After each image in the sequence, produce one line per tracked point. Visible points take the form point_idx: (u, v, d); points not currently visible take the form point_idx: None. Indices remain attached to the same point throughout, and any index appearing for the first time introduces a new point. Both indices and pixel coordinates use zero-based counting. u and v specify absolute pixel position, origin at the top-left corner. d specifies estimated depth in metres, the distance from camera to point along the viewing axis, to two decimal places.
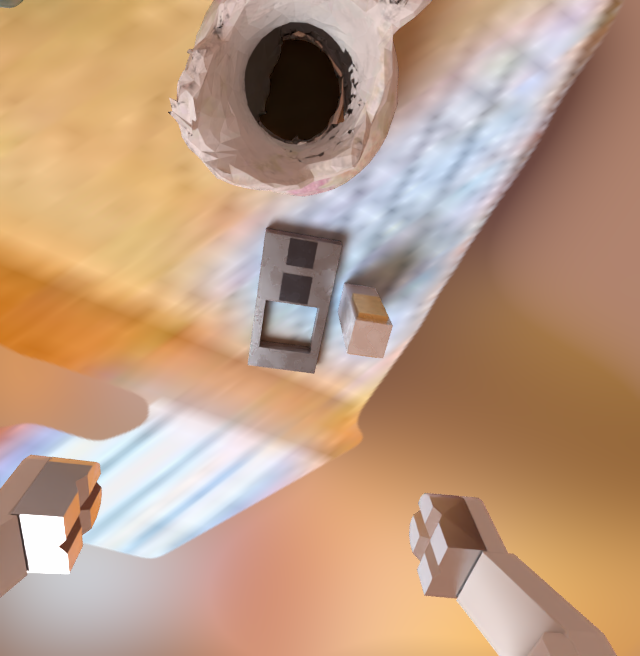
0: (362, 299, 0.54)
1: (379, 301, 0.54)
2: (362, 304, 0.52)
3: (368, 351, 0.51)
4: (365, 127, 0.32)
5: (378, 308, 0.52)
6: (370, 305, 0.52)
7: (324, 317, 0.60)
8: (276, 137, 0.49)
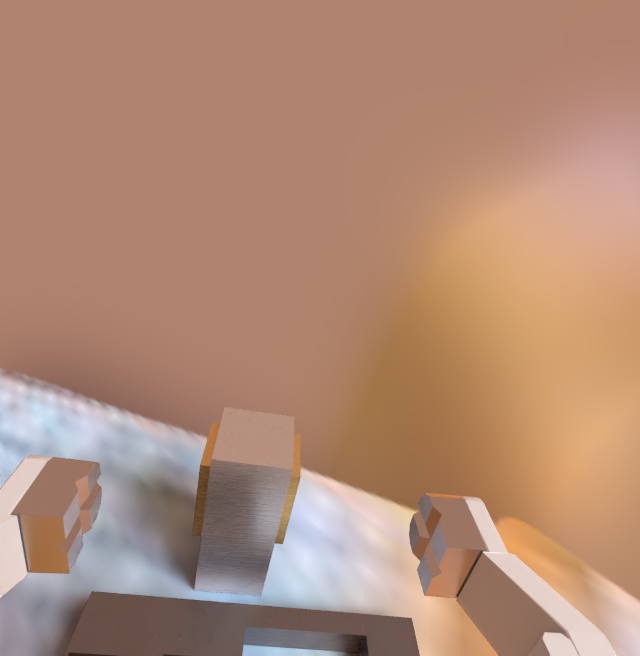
0: None
1: None
2: None
3: (283, 436, 0.26)
4: None
5: None
6: None
7: (268, 611, 0.26)
8: None
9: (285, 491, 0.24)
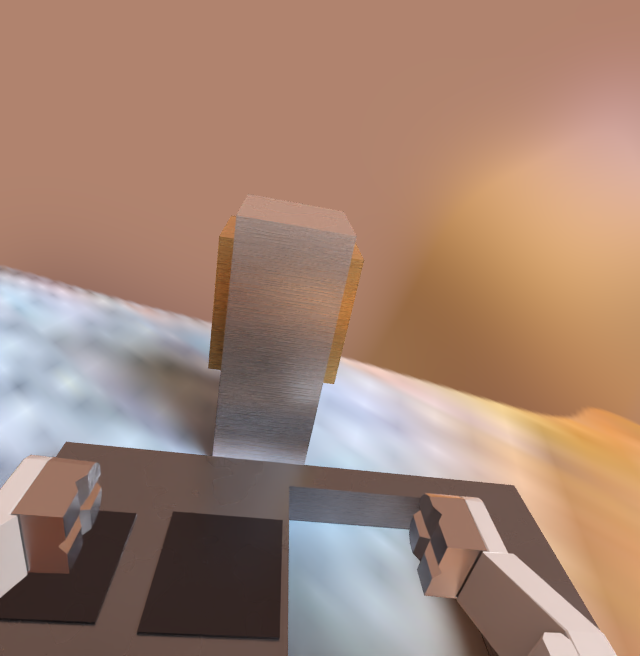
0: None
1: None
2: None
3: (334, 218, 0.18)
4: None
5: None
6: None
7: (319, 471, 0.19)
8: None
9: (343, 279, 0.17)
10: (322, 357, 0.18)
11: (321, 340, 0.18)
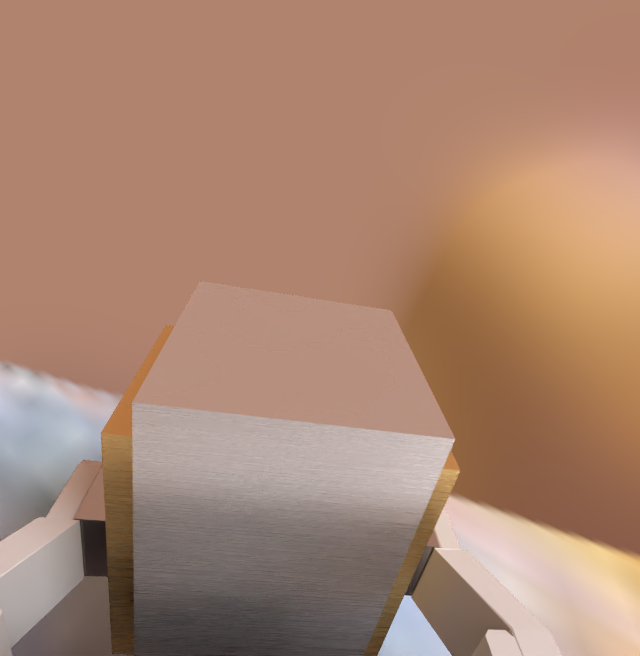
0: None
1: None
2: None
3: (380, 347, 0.08)
4: None
5: None
6: None
7: None
8: None
9: (413, 521, 0.07)
10: (354, 645, 0.08)
11: (353, 621, 0.08)
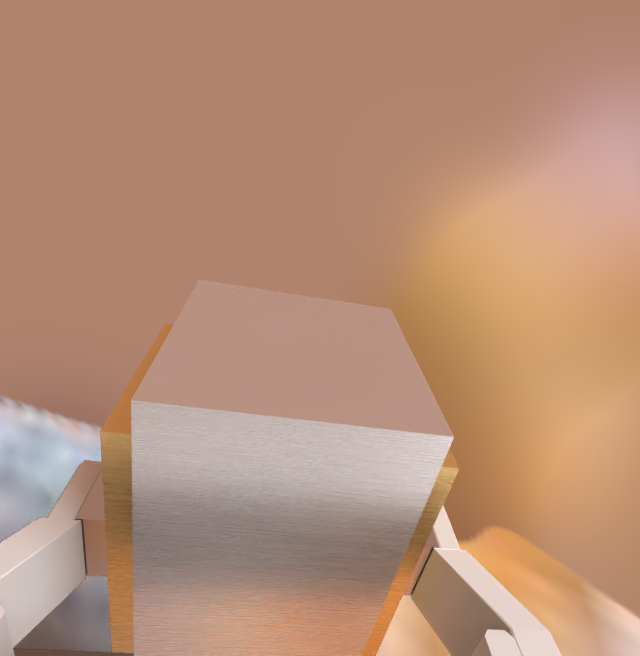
0: None
1: None
2: None
3: (379, 345, 0.08)
4: None
5: None
6: None
7: None
8: None
9: (411, 519, 0.07)
10: (353, 643, 0.08)
11: (352, 619, 0.08)
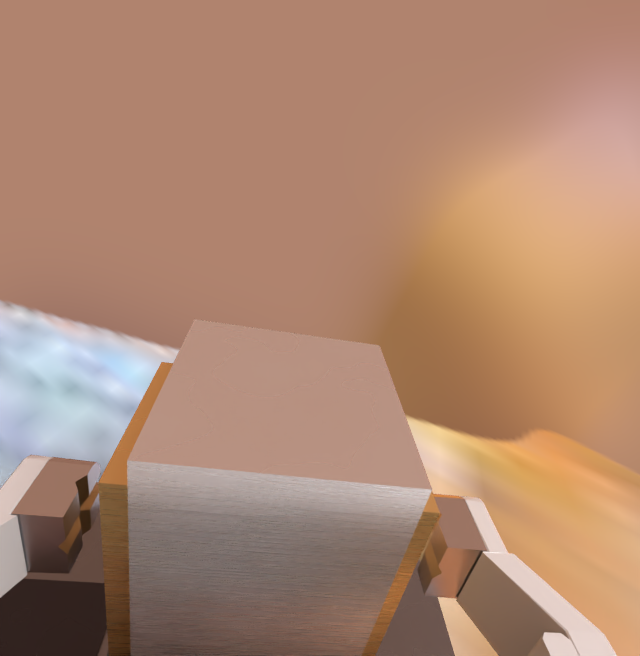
0: None
1: None
2: None
3: (366, 388, 0.09)
4: None
5: None
6: None
7: None
8: None
9: (394, 561, 0.07)
10: None
11: (339, 651, 0.08)
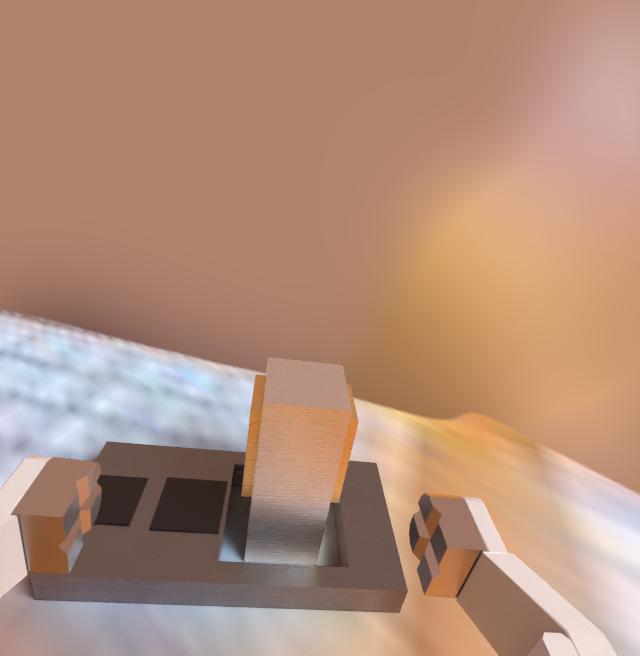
0: None
1: None
2: None
3: (335, 382, 0.24)
4: None
5: None
6: None
7: None
8: None
9: (343, 437, 0.22)
10: (329, 488, 0.24)
11: (327, 477, 0.23)
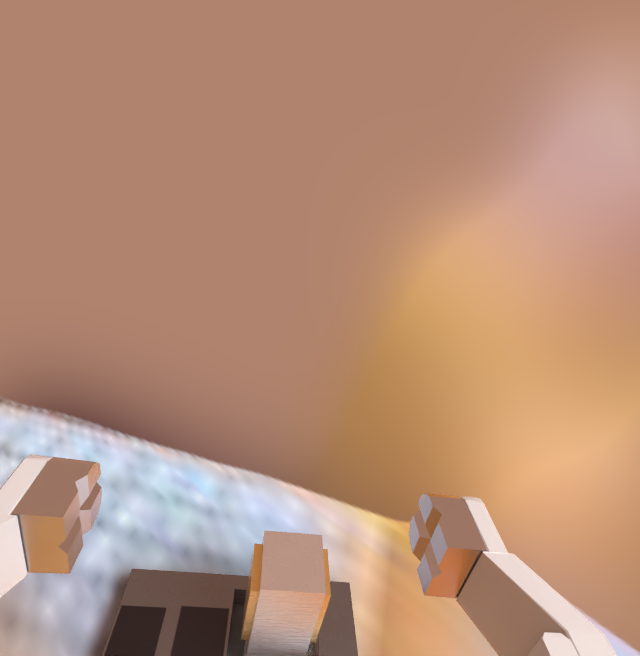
0: None
1: (247, 583, 0.34)
2: (247, 601, 0.31)
3: (314, 558, 0.31)
4: None
5: (250, 571, 0.33)
6: (248, 587, 0.32)
7: None
8: None
9: (319, 608, 0.30)
10: (307, 637, 0.31)
11: (307, 631, 0.31)
